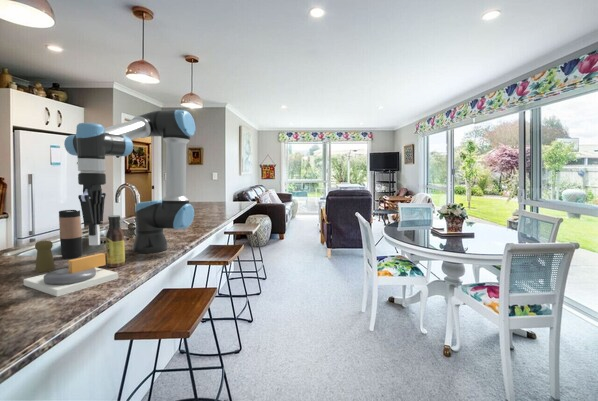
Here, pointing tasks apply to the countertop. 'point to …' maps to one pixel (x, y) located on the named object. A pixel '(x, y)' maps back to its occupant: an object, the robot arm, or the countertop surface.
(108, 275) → the dial base
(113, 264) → the sauce bottle
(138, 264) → the countertop surface
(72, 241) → the travel mug
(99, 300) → the countertop surface
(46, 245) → the olive pepper mill
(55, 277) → the dial
